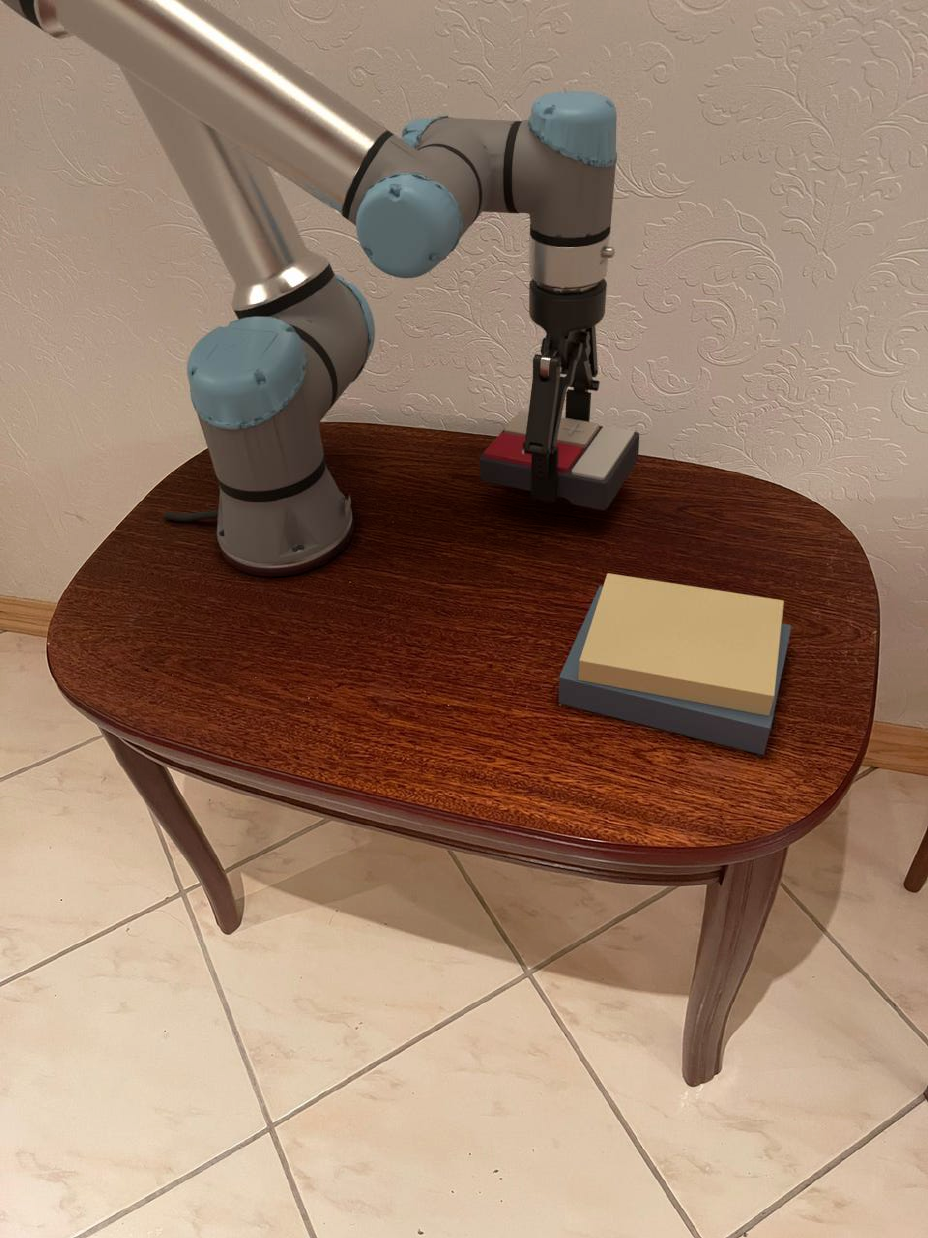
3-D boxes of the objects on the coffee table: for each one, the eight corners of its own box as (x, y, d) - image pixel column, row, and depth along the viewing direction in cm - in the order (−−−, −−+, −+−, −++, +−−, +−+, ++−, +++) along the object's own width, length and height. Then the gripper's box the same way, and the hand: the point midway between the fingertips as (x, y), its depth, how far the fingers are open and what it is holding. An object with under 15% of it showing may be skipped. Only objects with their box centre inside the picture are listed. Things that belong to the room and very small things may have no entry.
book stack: (558, 703, 80) (559, 656, 76) (598, 610, 89) (601, 563, 85) (763, 755, 74) (776, 708, 70) (785, 650, 83) (797, 602, 79)
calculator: (518, 405, 105) (640, 425, 99) (519, 437, 107) (639, 459, 102) (476, 452, 98) (606, 477, 92) (479, 485, 100) (605, 511, 95)
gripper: (568, 335, 77) (560, 536, 92) (636, 238, 92) (620, 422, 107) (488, 324, 79) (492, 521, 94) (567, 231, 95) (560, 412, 110)
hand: (560, 469), depth 101 cm, fingers closed on calculator, 11 cm apart
